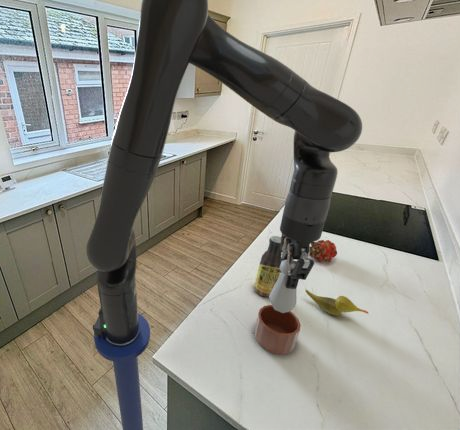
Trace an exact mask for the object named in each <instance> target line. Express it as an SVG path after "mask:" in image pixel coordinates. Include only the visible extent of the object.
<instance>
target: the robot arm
mask: <svg viewBox="0 0 460 430" xmlns="http://www.w3.org/2000/svg"><path fill="white" fill-rule="evenodd" d="M139 11H140V13H139V24H138V25H139V26H138V32H137V40H136V47H135V54H134V60H133V67H132V72H131V77H130V81H129V85H128V88H127V90H126V94H125V97H124V100H123V102H122V105H121V108H120V111H119V115H118V118H117V121H116V124H115V128H114V132H113V136H112V138H111V143H110V144H111V145H110V148H109V149H110V150H109V153H108V157H107V163H106V168H105V173H104V178H103V183H102V190H101V194H100V201H99V208H98V211H97V215H96V218H95V221H94V223H93V227H92V230H91V232H90V235H89V238H88V241H87V243H86V248H85V249H86V256H87V259H88V261H89V263H90V264H91V266H92V267H93V268H94V269H96V270H97V272H96V285H97V291H98V298H99V305H100V307H99V310H98V312H97V313H98V316H97V319H96V321H95V323H94V324H93V325H92V330H93V336H94V335H98V336H102V338H103V339H106V340H107V342H108V343H110V344H111V345H113V346H116V347H124V346H127V345H130V344H131V343H133V342H134V341H135V340H136V339H137V337H138V335H139V323H138V313H139V312H138V310H139V309H138V297H137V282H136V273H137V243H136V242H137V240H136V234H135V231H134V229H133V228H134V224H135V221H136V219H137V217H138V214H139V213H140V210H141V208H142V206H143V204H144V202H145V200H146V198H147V196H148V194H149V191H150V190H151V187H152V185H153V182H154V180H155V177H156V174H157V171H158V169H159V165H160V163H161V159H162V156H163V153H164V150H165V149H164V148H165V145H166V142H167V139H168V134H169V130H170V126H171V122H172V118H173V114H174V113H173V112H174V108H175V104H176V99H177V96H178V92H179V90H180V86H181V84H182V82H183V79H184V76H185V74H186V72H187V69H188V68H189V67H188V66H189V64H190V65H192V66H194V67H196V68H197V69H199V70H201V71H203V72H205V73H207V74H208V75H209V76H211V77H212V78H214V79H215V80H217V81H219V82H220V83H221V84H223V85H224V86H226V87H227V88H228V89H229V90H231V91H232V92H234V93H235V94H236V95H237V96H239V97H240V98H241V99H243V100H244V101H245V102H247V103H248V104H250V105H251V106H252V107H253V108H255V109H257V111H259V112H261V113H262V114H263V115H265V116H266V117H268V118H270V119H271V120H272V121H274V122H276V123H278V124H280V125H282V126H286V127H288V128H291V129H292V130H294V133H293V167H294V168H293V169H294V170H293V173H292V176H291V181H290V185H289V191H288V193H287V196H286V199H285V201H284V202H285V203H284V207H283V212H282V215H281V222H280V226H279V231H280V233H281V236H280V237H281V245H280V252H281V254H282V255H281V258H282V261H284V260H287V263H288V264H289V270H288V275H287V278H286V282H285V286H286V288H289V289H296V290H297V287H298V284H299V281H300V280H302V281H303V280H304V281H306V280H307V278H308V276H309V275H310V272H311V271H312V269H313V267H314V265H315V259H311V258H309V253H310V247H311V243H312V242H318V241H320V240H321V237H322V234H323V230H324V228H325V224H326V221H327V217H328V214H329V211H330V207H331V206H330V205H331V199H332V195H333V191H334V188H335V186H336V182H337V178H338V172H339V171H338V168H337V166H336V165H335V164H334V163H333V162H332V160H331V158H330V153H339V152H343V151H346V150H347V149H349V148H352V146H354V145H355V144H356V143H357V142H358V140H359V139H360V137H361V135H362V131H363V121H362V117H361V116H360V114H359V113H358V112H357V111H356V109H354V108H353V107H351V106H350V105H348V104H347V103H345V102H344V101H341V100H339V99H338V98H336V97H334V96H332V95H330V94H327V93H326V92H324V91H321V90H320V89H318V88H316V87H314V86H313V85H311V84H310V83H309V82H308V81H307V80H306V79H304V78H303V77H302V76H301V75H299V74H297V73H296V72H295V71H294V70H293V69H291V68H290V67H288V66H287V65H285V64H284V63H283V62H281V61H280V60H278V59H277V58H275V57H273V56H271V55H269V54H267V53H265V52H263V51H261V50H259V49H257V48H255V47H254V46H251V45H250V44H248V43H245V42H243V41H241V40H240V39H239V38H237V37H236V36H234V35H232V34H231V33H230V32H228V31H227V30H226V29H224V28H223V27H222V26H220V24H219V23H218V22H217V21H215V19H213V17H211V16H210V14H209V0H141V4H140V10H139ZM292 260H294V261H292ZM294 266H295V267H294ZM293 267H294V269H293ZM280 274H281V270H280Z"/></svg>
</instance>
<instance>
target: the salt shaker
mask: <svg viewBox="0 0 460 430" xmlns="http://www.w3.org/2000/svg"><path fill="white" fill-rule="evenodd" d="M292 261H295V260H292ZM294 267H295V266H294ZM294 267H293V269H294ZM280 270H281V273H280V276H279V277H278V279H277V281H276V283H275V285H274V287H273V289H272V291H271V293H270V295H269V297H268V298H269V302H270V305H272V306H273V308H274V309H275V310H277V311H279V312H281V313H285V312H289V311H291V312H292V310H293V309H294V308H296V305H297V288H296V289H289V288H286V286H285V282H286V278H287V275H288V270H289V264H288V263H287V260H284V261H282V262H281V264H280Z"/></svg>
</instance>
